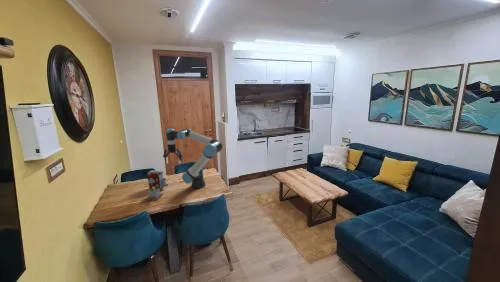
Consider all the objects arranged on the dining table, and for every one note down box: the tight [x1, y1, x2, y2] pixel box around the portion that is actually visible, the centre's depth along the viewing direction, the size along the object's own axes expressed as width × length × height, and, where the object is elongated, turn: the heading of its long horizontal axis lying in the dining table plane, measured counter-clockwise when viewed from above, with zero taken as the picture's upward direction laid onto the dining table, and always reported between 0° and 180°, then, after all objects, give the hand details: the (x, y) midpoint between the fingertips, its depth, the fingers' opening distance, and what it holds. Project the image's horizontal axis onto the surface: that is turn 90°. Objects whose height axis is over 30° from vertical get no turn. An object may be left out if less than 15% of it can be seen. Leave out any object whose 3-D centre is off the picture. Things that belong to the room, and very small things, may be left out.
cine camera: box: [147, 169, 169, 191], centre depth 231 cm, size 9×19×20 cm, turn 78°
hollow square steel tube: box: [147, 188, 161, 198], centre depth 214 cm, size 8×8×7 cm
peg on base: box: [144, 187, 164, 201], centre depth 213 cm, size 12×12×11 cm
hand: (173, 163), depth 226 cm, fingers open, 13 cm apart
